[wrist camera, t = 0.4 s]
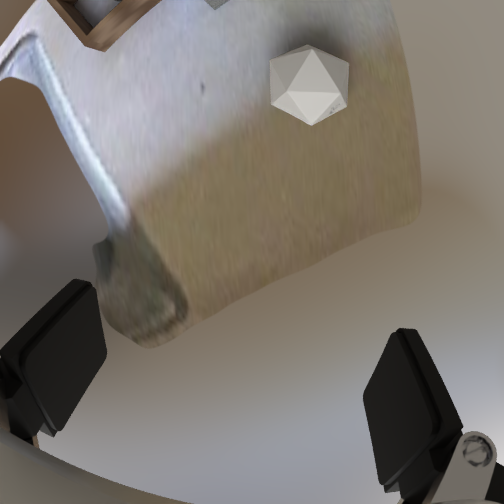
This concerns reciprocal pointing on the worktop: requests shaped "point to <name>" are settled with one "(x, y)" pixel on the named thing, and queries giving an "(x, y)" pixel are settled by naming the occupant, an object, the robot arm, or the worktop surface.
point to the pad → (216, 3)
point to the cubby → (102, 21)
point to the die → (309, 83)
